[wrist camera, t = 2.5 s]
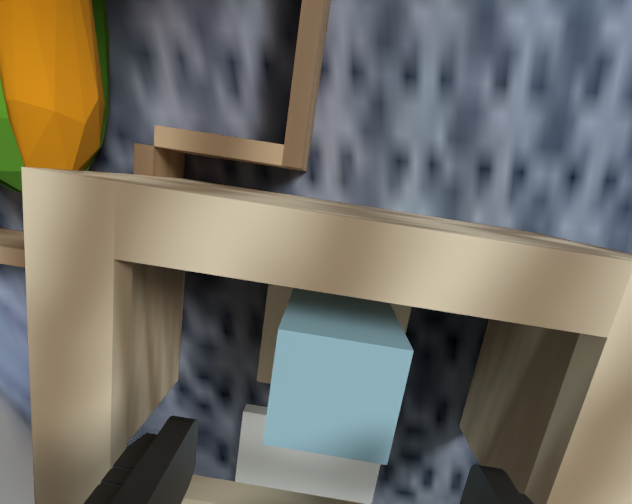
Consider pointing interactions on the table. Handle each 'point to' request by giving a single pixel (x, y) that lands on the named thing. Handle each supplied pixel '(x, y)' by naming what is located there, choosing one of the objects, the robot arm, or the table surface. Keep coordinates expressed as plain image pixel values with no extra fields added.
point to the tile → (299, 466)
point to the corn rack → (176, 142)
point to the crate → (322, 276)
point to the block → (337, 377)
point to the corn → (52, 85)
